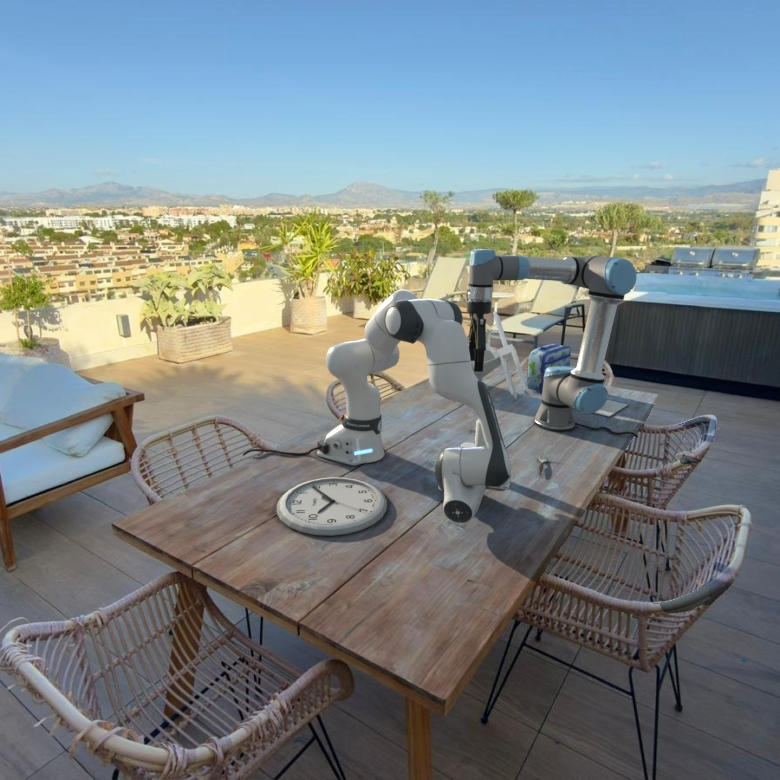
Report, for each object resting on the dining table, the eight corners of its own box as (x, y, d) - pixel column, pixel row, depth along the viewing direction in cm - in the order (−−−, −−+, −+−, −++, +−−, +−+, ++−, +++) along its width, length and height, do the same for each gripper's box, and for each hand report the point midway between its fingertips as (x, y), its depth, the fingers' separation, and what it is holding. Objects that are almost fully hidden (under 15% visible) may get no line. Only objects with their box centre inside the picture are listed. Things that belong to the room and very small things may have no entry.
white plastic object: (461, 429, 252) (437, 405, 227) (444, 352, 274) (420, 323, 250) (535, 404, 240) (518, 377, 215) (510, 326, 262) (492, 293, 237)
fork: (535, 475, 162) (535, 469, 161) (539, 455, 176) (540, 450, 175) (543, 477, 161) (544, 471, 160) (547, 456, 175) (548, 451, 175)
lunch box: (542, 396, 239) (547, 351, 232) (522, 391, 246) (526, 347, 240) (570, 385, 256) (575, 343, 250) (550, 380, 263) (554, 339, 257)
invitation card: (608, 416, 214) (573, 407, 224) (608, 416, 214) (573, 408, 224) (628, 404, 229) (594, 396, 238) (628, 405, 229) (594, 397, 238)
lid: (469, 455, 175) (469, 449, 175) (457, 450, 179) (457, 444, 179) (479, 451, 179) (479, 445, 178) (467, 446, 183) (468, 441, 182)
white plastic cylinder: (485, 469, 165) (489, 412, 160) (490, 476, 161) (495, 417, 155) (470, 470, 165) (474, 413, 159) (475, 477, 160) (480, 418, 154)
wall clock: (392, 527, 129) (268, 531, 127) (391, 533, 130) (269, 537, 127) (383, 473, 158) (282, 475, 155) (383, 478, 158) (282, 480, 156)
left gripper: (509, 479, 137) (515, 458, 150) (433, 467, 143) (445, 448, 156) (507, 501, 139) (513, 478, 152) (433, 488, 145) (444, 468, 158)
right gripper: (462, 295, 176) (459, 356, 182) (473, 305, 152) (468, 376, 158) (484, 295, 176) (480, 356, 182) (499, 306, 152) (493, 376, 158)
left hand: (478, 463), depth 154 cm, fingers open, 8 cm apart
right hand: (475, 365), depth 170 cm, fingers open, 13 cm apart
